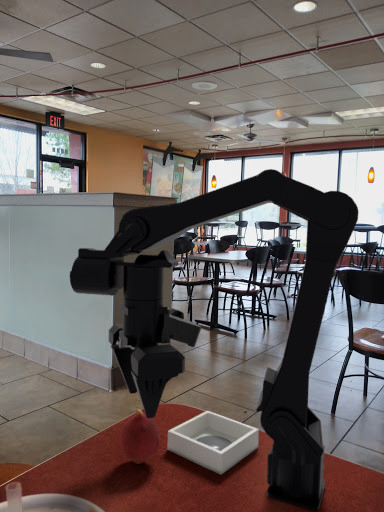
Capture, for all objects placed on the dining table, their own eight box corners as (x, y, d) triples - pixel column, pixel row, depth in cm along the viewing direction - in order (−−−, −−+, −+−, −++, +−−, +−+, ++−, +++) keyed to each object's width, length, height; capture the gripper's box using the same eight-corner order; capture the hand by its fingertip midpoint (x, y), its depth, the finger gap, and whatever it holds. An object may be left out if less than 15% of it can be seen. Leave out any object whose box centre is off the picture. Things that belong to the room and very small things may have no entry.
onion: (162, 454, 64) (163, 403, 64) (155, 476, 58) (156, 419, 58) (124, 451, 65) (125, 400, 64) (114, 472, 59) (115, 416, 58)
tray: (257, 447, 67) (258, 429, 67) (221, 474, 59) (221, 454, 59) (206, 427, 73) (207, 410, 73) (167, 449, 66) (167, 430, 65)
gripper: (223, 306, 55) (219, 423, 56) (173, 287, 72) (171, 377, 73) (140, 310, 50) (137, 437, 51) (108, 289, 68) (107, 385, 68)
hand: (141, 404), depth 61 cm, fingers open, 9 cm apart
